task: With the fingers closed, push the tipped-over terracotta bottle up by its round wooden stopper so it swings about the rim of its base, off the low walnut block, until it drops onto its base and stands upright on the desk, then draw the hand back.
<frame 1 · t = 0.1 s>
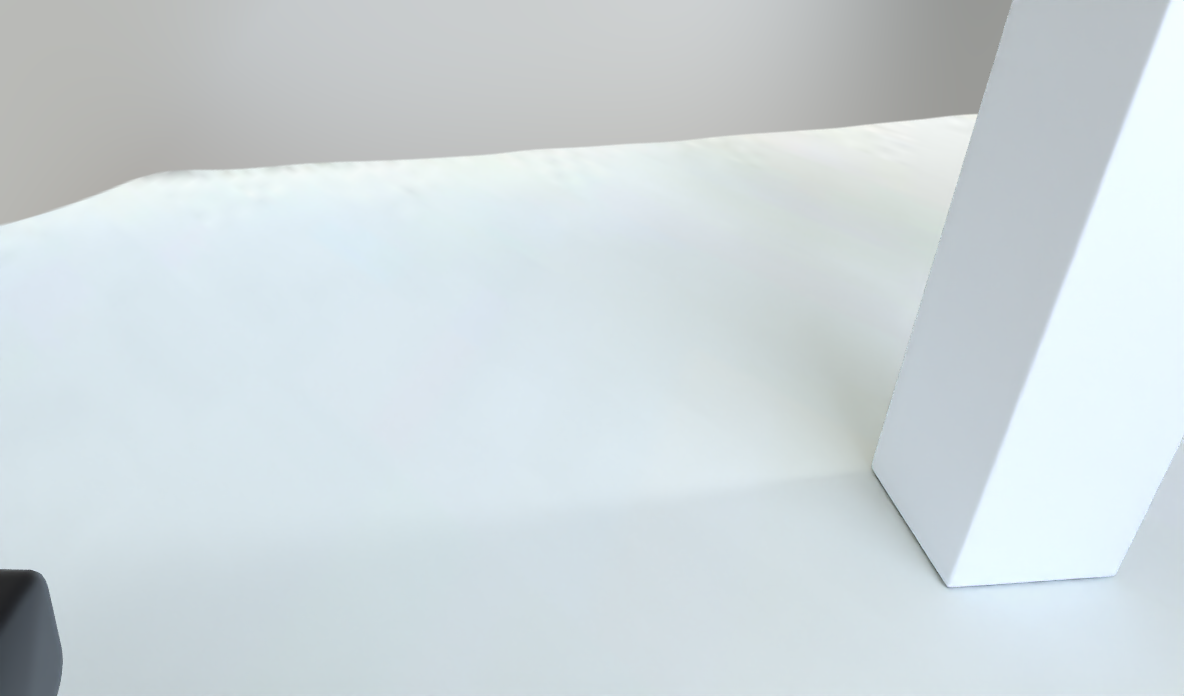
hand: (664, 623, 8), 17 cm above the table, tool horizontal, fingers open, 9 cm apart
milk: (984, 524, 36), on the table
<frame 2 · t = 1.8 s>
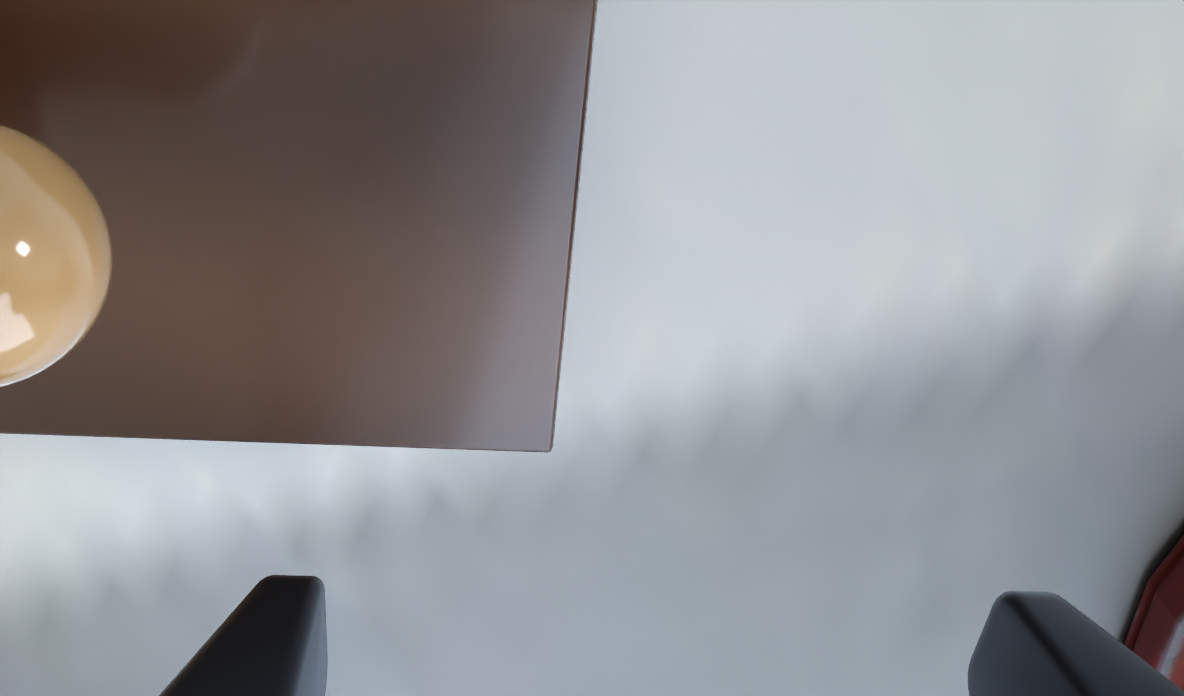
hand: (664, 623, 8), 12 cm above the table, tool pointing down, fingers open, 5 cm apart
riser: (273, 76, 18), on the table
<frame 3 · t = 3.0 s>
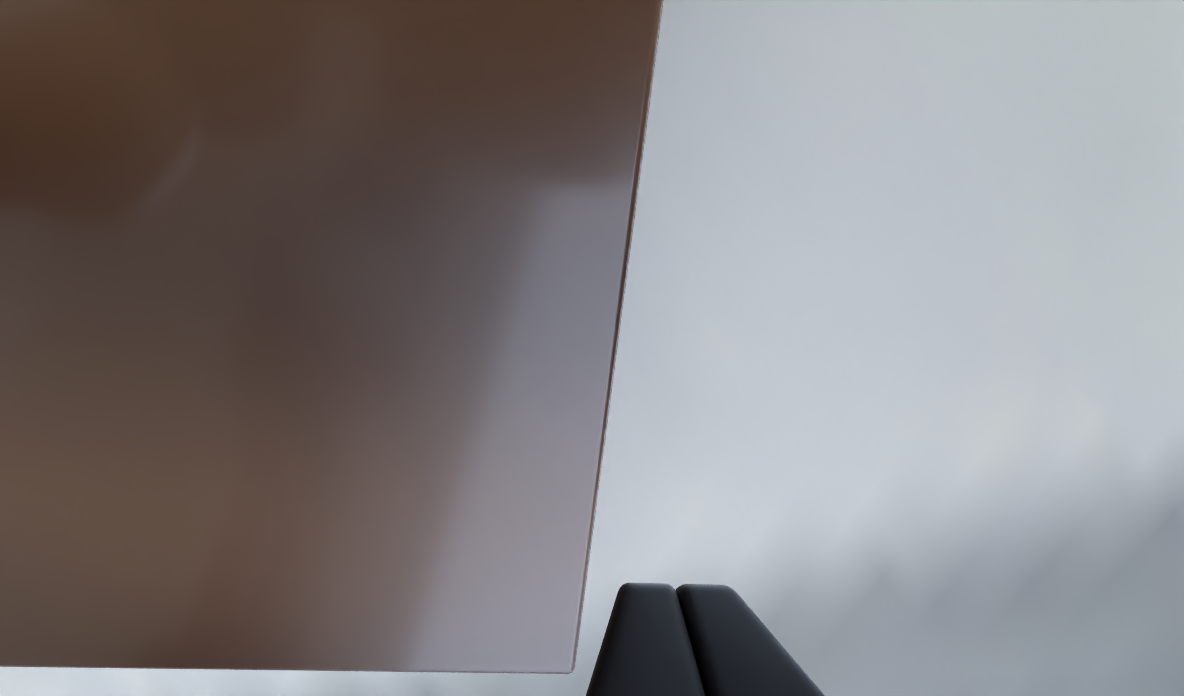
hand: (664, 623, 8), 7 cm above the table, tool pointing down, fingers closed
riser: (206, 203, 13), on the table
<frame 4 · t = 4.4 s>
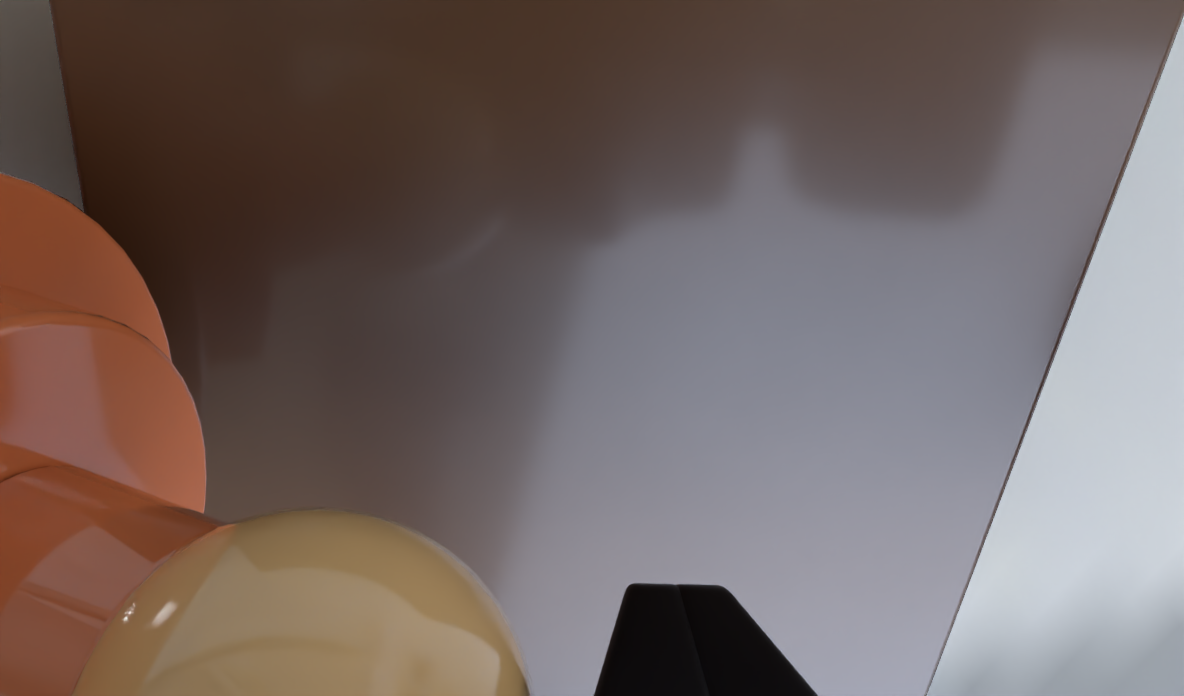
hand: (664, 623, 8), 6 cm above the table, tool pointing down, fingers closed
riser: (585, 266, 13), on the table
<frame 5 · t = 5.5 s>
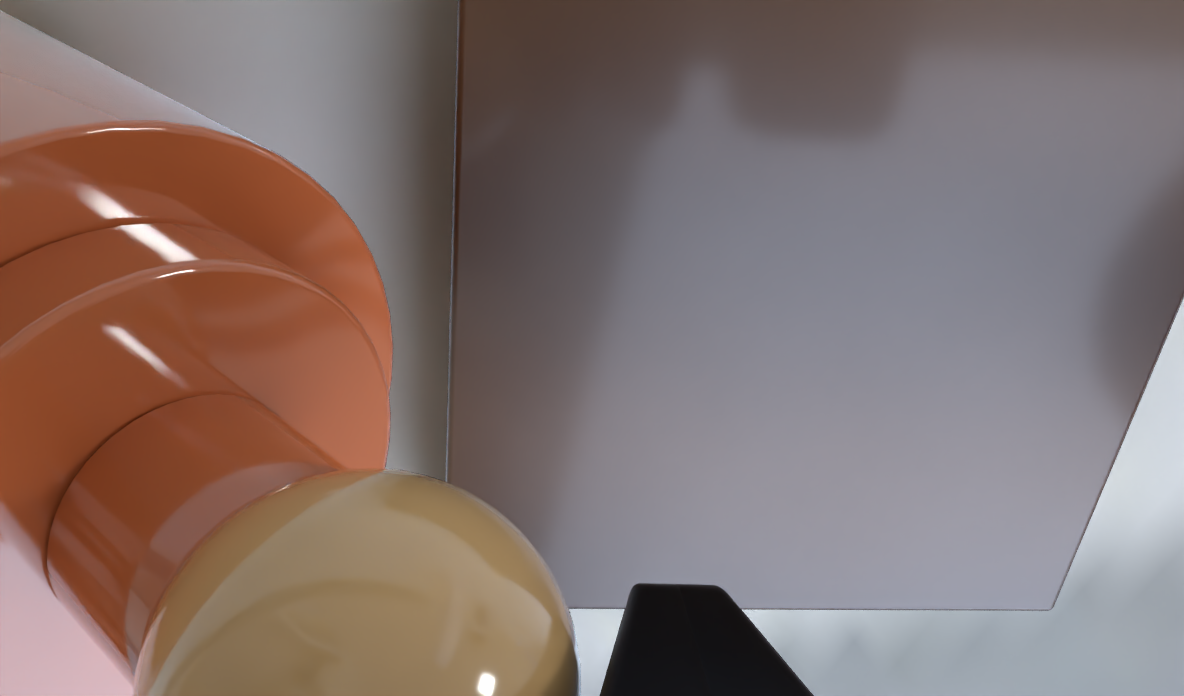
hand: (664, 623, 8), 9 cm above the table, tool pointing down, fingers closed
riser: (796, 212, 16), on the table
bottle: (365, 684, 8), point 9 cm above the table, tilted 23°, touching gripper
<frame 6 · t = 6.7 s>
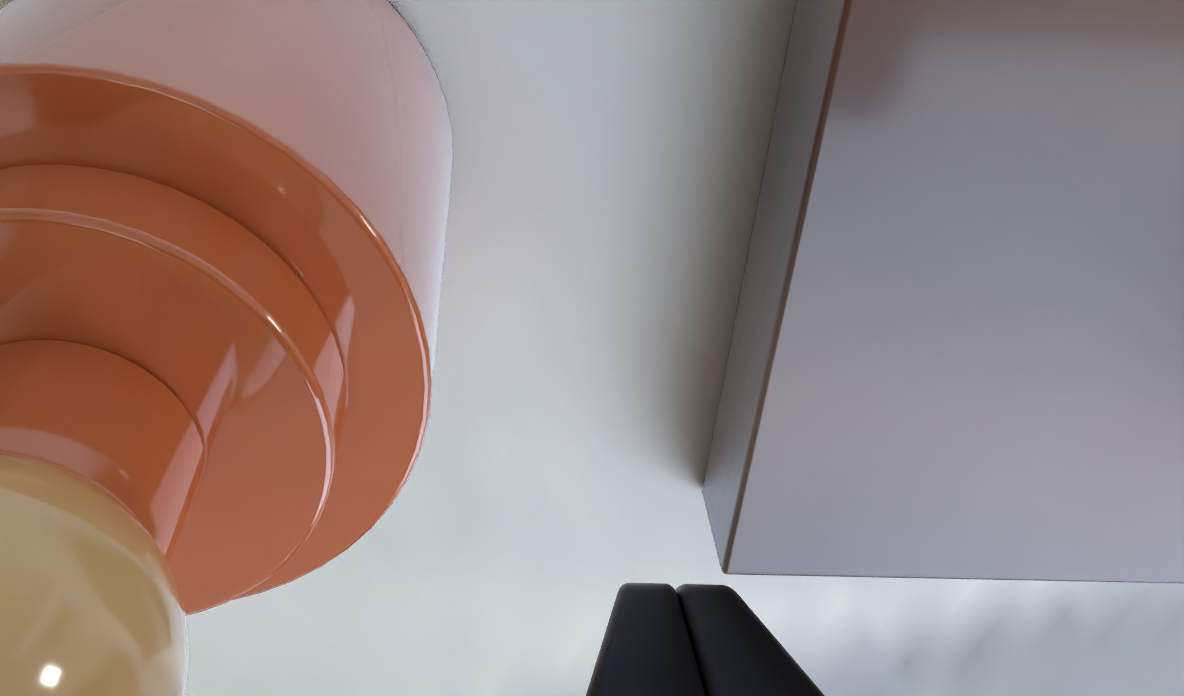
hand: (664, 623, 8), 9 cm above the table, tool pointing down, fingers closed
riser: (1077, 198, 17), on the table
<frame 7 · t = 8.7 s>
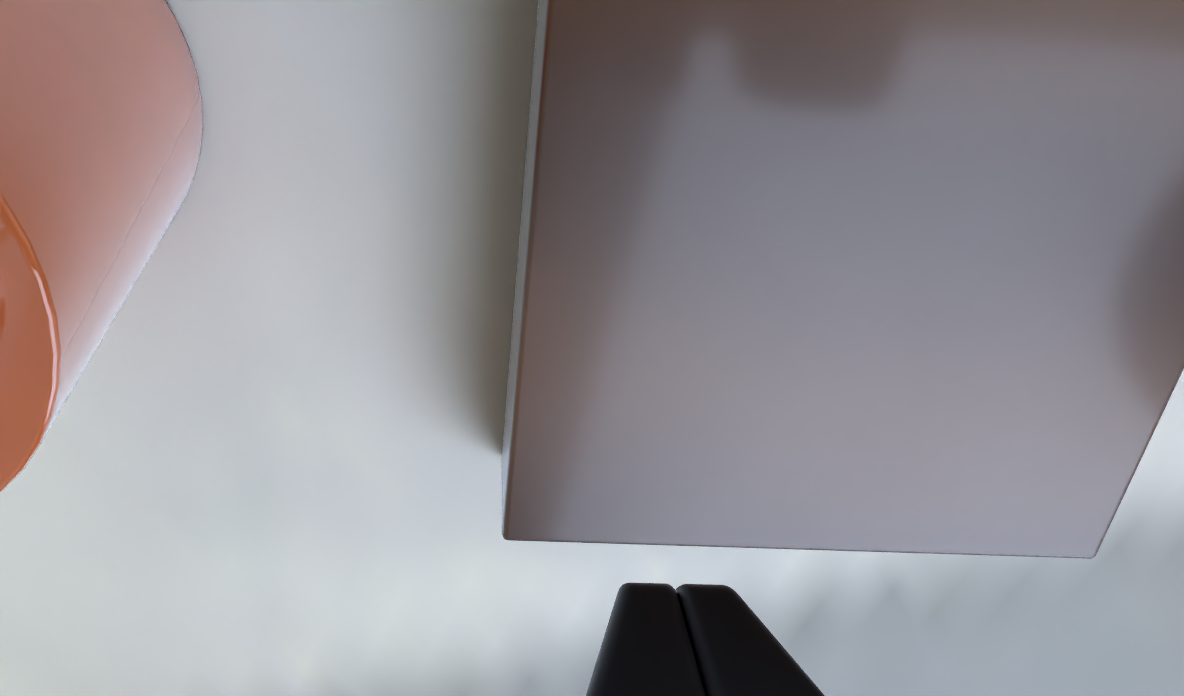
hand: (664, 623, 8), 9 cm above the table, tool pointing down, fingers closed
riser: (859, 157, 16), on the table
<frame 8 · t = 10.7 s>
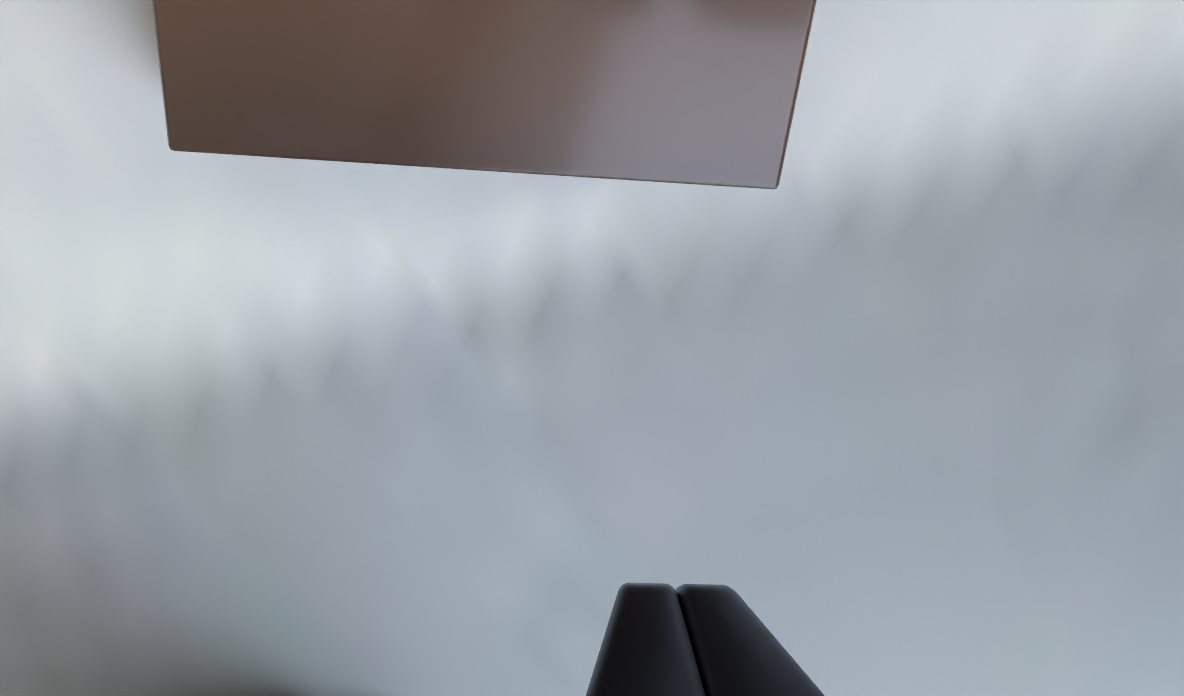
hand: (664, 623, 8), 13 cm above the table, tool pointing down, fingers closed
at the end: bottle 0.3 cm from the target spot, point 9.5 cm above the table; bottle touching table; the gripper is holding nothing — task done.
